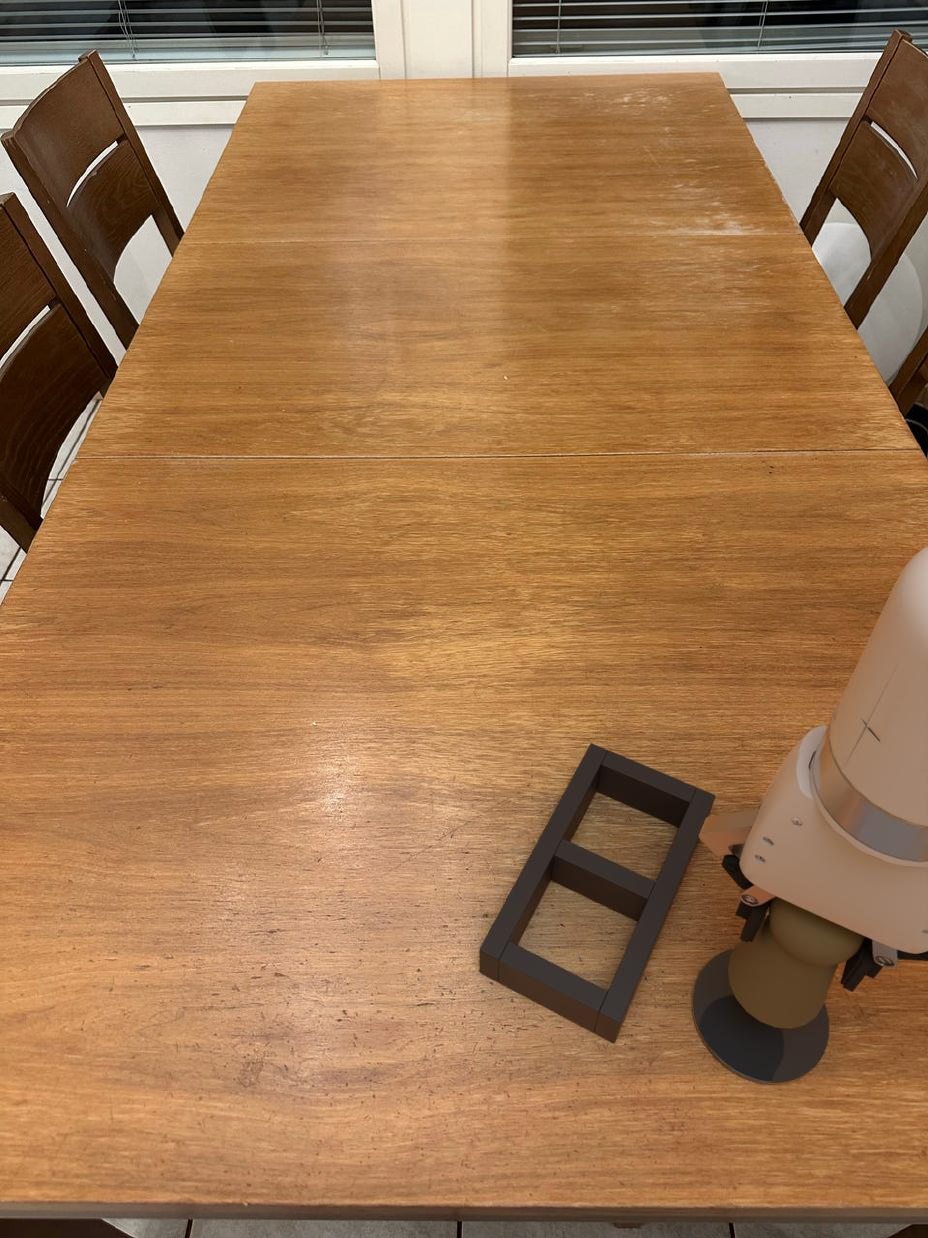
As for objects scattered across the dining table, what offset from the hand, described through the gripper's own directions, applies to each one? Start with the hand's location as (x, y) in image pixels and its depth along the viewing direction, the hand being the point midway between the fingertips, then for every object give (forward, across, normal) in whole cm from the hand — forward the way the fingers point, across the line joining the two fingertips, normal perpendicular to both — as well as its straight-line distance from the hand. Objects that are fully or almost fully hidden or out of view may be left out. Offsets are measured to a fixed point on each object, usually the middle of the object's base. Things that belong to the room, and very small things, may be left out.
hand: (801, 942), depth 55 cm
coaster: (+12, 0, 0) cm, 12 cm away
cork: (+6, 0, 0) cm, 6 cm away
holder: (+12, +13, -3) cm, 18 cm away
